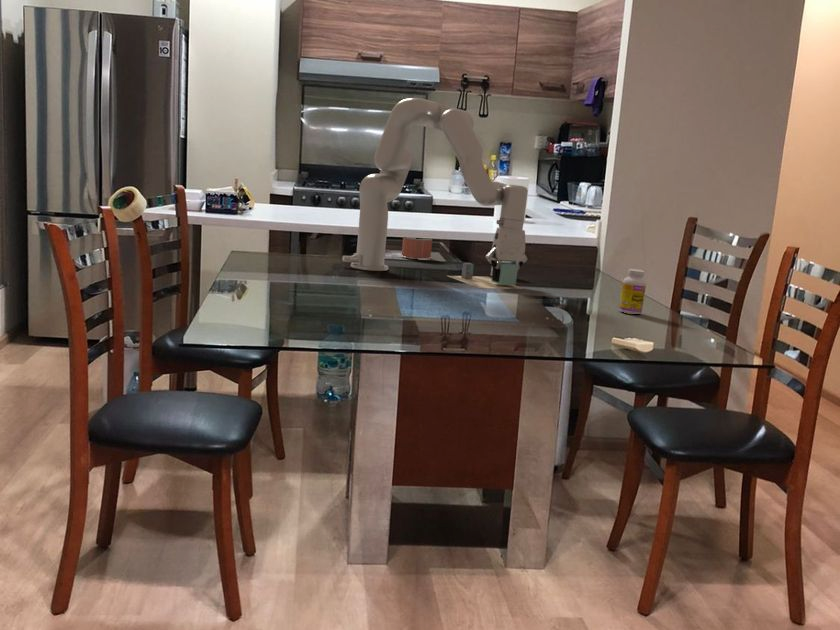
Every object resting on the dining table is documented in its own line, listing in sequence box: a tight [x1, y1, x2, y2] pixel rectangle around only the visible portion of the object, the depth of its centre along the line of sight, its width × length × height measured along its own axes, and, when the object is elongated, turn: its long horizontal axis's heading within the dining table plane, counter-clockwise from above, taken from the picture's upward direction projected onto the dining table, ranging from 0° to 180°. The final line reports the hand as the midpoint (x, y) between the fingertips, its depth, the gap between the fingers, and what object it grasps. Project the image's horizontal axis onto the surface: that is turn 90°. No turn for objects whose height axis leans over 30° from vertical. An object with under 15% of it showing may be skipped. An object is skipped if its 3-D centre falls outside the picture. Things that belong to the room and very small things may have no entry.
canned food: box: [401, 238, 433, 258], centre depth 335 cm, size 11×11×12 cm
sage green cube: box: [491, 261, 519, 286], centre depth 280 cm, size 6×6×7 cm
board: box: [447, 275, 524, 290], centre depth 284 cm, size 16×22×1 cm
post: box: [460, 262, 475, 279], centre depth 287 cm, size 3×3×5 cm
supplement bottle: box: [618, 268, 647, 315], centre depth 258 cm, size 7×7×13 cm
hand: (503, 280), depth 280 cm, fingers closed on sage green cube, 5 cm apart
